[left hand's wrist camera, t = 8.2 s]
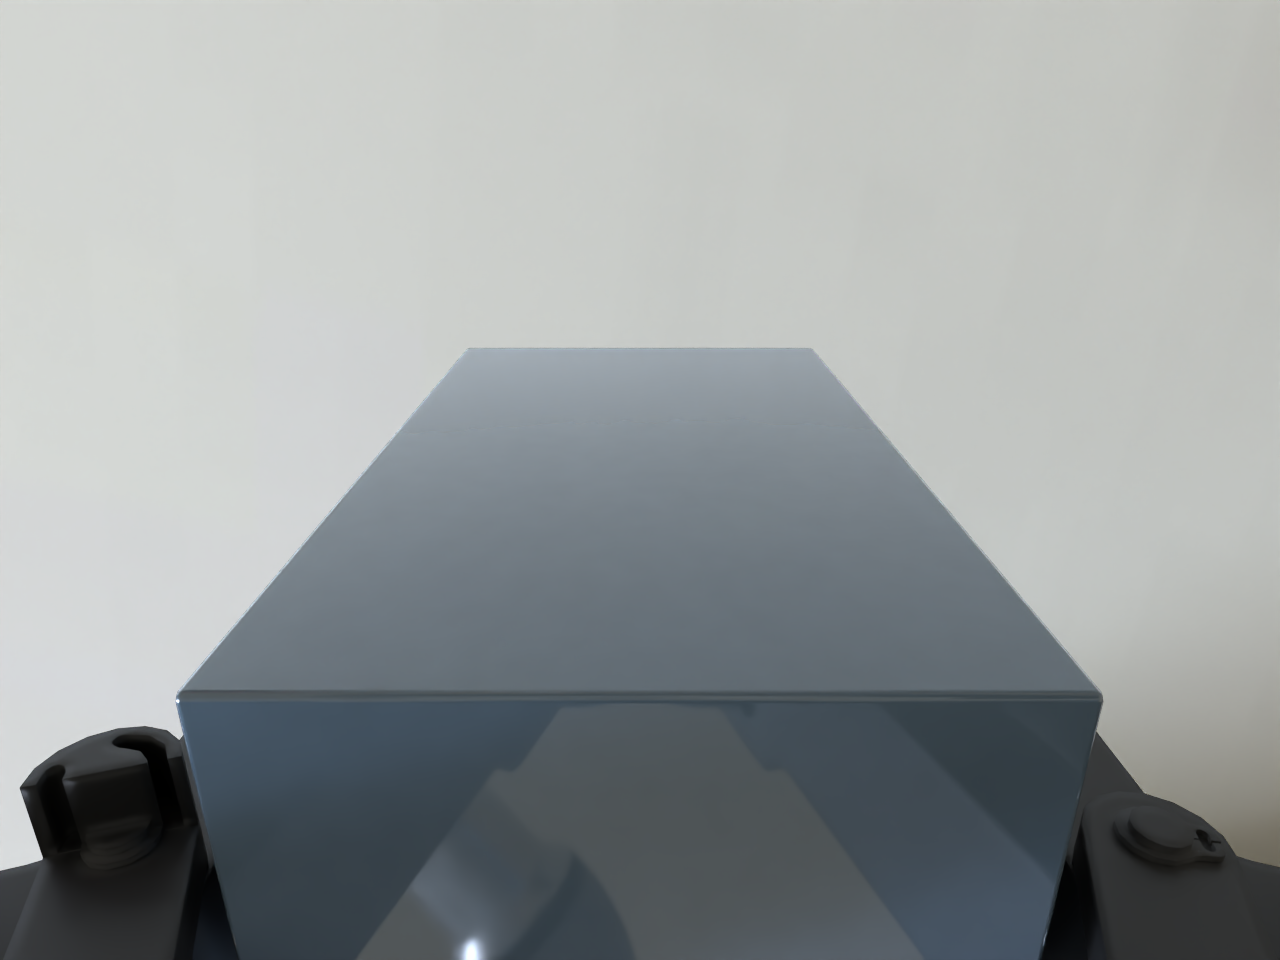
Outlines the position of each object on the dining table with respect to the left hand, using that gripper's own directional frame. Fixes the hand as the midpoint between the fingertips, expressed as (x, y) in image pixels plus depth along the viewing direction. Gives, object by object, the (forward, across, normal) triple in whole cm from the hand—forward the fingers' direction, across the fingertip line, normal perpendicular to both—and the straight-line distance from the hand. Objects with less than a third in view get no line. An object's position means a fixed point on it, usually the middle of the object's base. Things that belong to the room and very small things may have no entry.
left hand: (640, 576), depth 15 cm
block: (+3, 0, 0) cm, 3 cm away
